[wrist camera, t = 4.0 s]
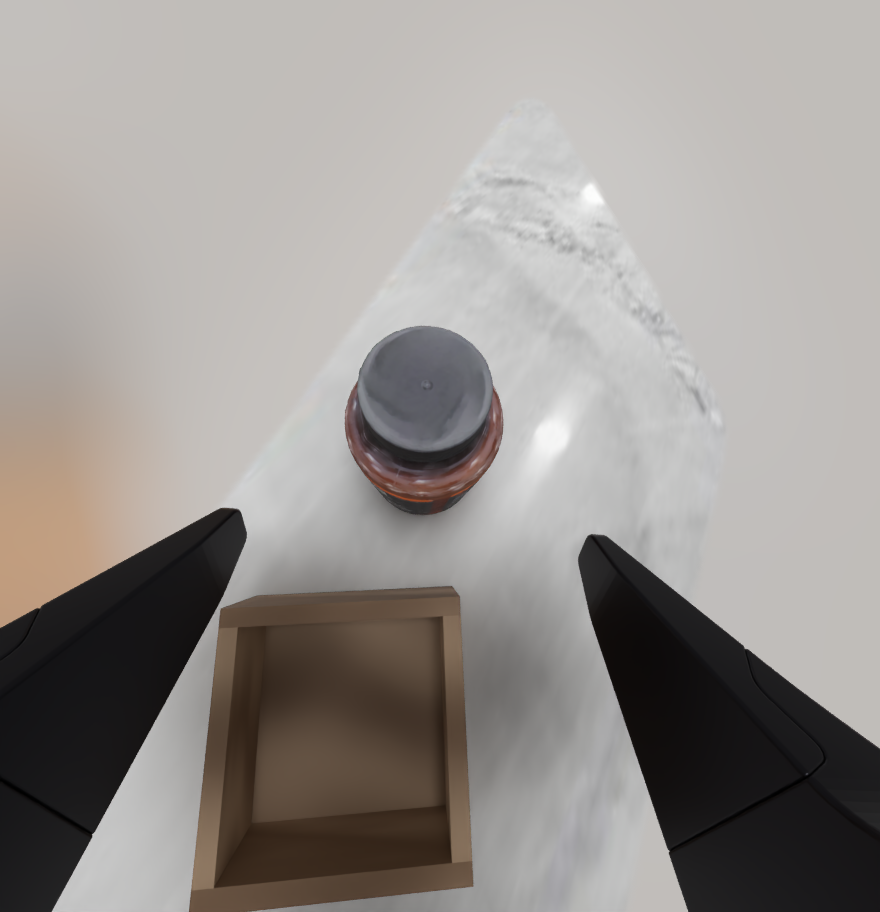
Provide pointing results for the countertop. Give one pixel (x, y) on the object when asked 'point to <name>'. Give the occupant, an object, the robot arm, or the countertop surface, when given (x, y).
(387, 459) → the supplement bottle
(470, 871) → the wooden box
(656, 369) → the countertop surface
